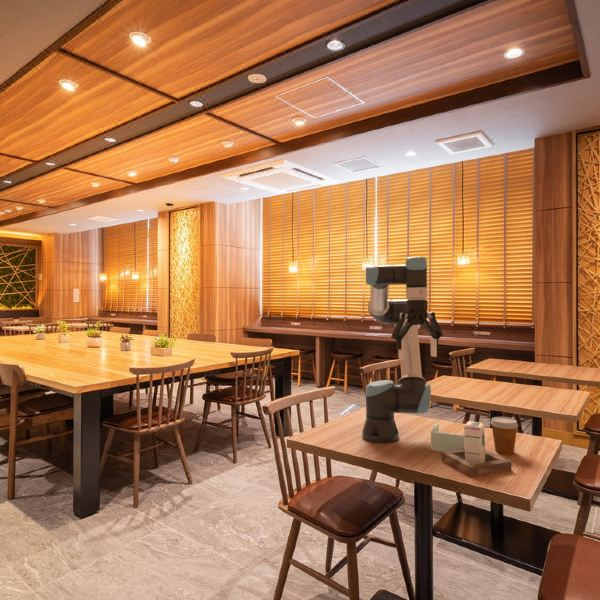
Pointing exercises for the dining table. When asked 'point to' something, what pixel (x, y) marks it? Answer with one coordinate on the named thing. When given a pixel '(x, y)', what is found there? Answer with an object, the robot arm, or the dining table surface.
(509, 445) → the disposable coffee cup
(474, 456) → the syrup box
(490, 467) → the socket block
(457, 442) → the l-shaped corner panel
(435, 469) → the dining table surface
